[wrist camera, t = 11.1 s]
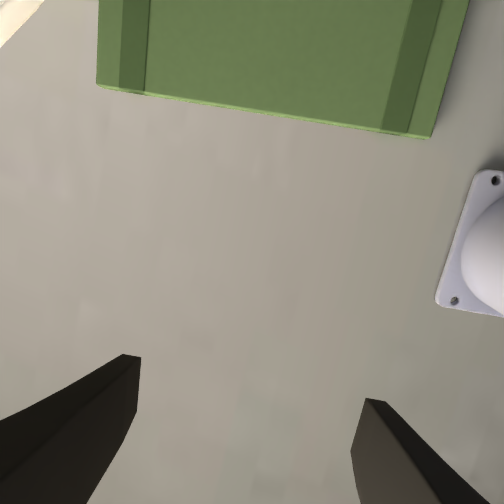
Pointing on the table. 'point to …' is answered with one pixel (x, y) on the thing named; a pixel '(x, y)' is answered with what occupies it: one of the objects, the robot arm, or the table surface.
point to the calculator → (15, 16)
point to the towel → (288, 57)
